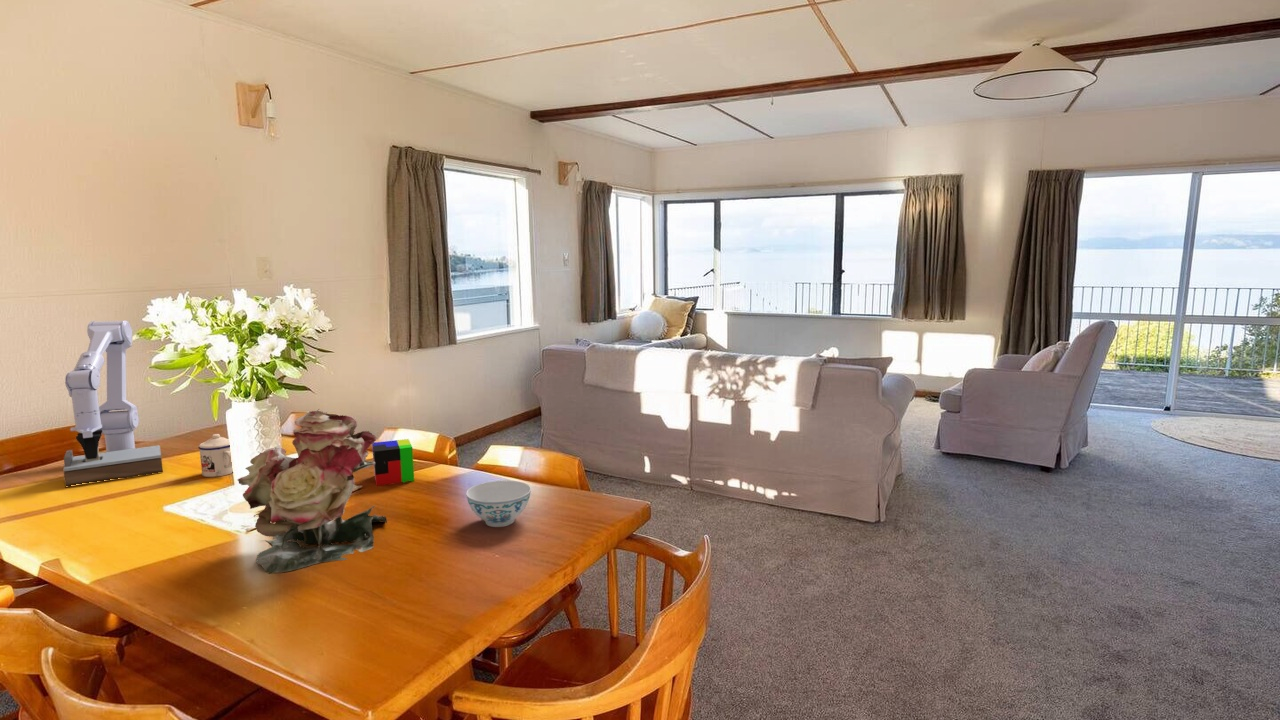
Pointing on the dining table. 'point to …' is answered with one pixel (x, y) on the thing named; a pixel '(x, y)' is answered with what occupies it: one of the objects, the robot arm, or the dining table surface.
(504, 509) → the chinaware
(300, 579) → the dining table surface
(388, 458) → the puzzle toy
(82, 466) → the toolbox lid
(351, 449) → the rose bouquet
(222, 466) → the teacup with lid
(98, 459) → the wooden block
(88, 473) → the toolbox
